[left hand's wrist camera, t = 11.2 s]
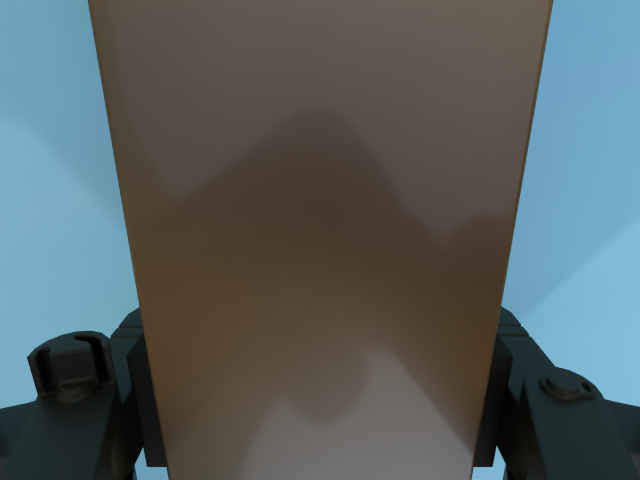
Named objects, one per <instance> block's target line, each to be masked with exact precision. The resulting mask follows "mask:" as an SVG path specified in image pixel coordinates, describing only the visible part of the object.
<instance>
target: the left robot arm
mask: <svg viewBox="0 0 640 480" xmlns="http://www.w3.org/2000/svg"><path fill="white" fill-rule="evenodd" d="M27 359H28V363H29V366H30V369H31V373H32V376H33V380H34V383H35V387H36V390H37V394H38V396H37V399H36V401H33V402H30V403H26V404H21V405H16V406H11V407H7V408H2V409H0V480H137V476H136V471H135V466H134V465H135V463H136V461H137V459H138V457H139V454H140V452H141V450H142V448H144V453H145V458H146V464H147V467H167V466H166V460H165V454H164V448H163V442H162V437H161V431H160V425H159V419H158V413H157V407H156V401H155V395H154V389H153V383H152V377H151V371H150V365H149V360H148V354H147V348H146V342H145V336H144V330H143V324H142V318H141V312H140V307H139V308H137V309H136V310H134V311H133V312H131V313H129V314H128V315H127V316H126V318H125V319H124V320H123V321H122V323H121V324H120V325H119V328H117V329H116V330H115V331H114V333H113V334H112V335H111V338H109V339H108V337H106V336H105V335H104V334H103V333H100V332H95V331H77V332H73V333H68V334H64V335H60V336H58V337H56V338H53V339H51V340H48V341H46V342H45V343H43V344H41V345H40V346H38V347H37V348H35V349H34V350H33V351H32V352H31V353H30V355H29V356H28V357H27ZM496 446H497V447H498V449H499V451H500V453H501V455H502V457H503V459H504V461H505V463H506V466H505V471H504V475H503V480H640V407H638V406H633V405H628V404H623V403H619V402H614V401H610V400H606V399H604V398H603V396H602V394H601V393H600V391H599V390H598V389H597V387H596V386H595V385H594V384H592V383H591V382H590V381H588V380H587V379H586V378H584V377H583V376H581V375H578V374H576V373H574V372H572V371H570V370H566V369H562V368H559V367H555V366H554V364H553V363H552V362H551V361H550V360H549V358H548V357H547V356H546V355H545V353H544V352H543V351H542V350H541V348H540V347H539V346H538V345H537V344H536V342H535V341H534V340H533V339H532V337H529V334H528V332H527V331H526V330H525V329H524V328H523V327H521V324H520V323H519V321H518V320H517V319H516V318H515V316H514V315H513V314H512V313H511V312H510V311H508V310H506V309H505V308H503V307H502V306H501V309H500V315H499V321H498V327H497V332H496V338H495V344H494V350H493V356H492V362H491V368H490V373H489V379H488V385H487V391H486V397H485V403H484V409H483V414H482V420H481V426H480V432H479V438H478V444H477V449H476V455H475V461H474V467H493V462H494V456H495V451H496Z"/></svg>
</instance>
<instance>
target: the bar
mask: <svg viewBox="0 0 640 480" xmlns="http://www.w3.org/2000/svg"><path fill="white" fill-rule="evenodd" d="M88 4H89V10H90V16H91V22H92V28H93V34H94V40H95V46H96V52H97V58H98V64H99V70H100V75H101V81H102V87H103V93H104V99H105V105H106V111H107V117H108V123H109V129H110V135H111V141H112V146H113V152H114V158H115V164H116V170H117V176H118V182H119V188H120V194H121V200H122V206H123V212H124V217H125V223H126V229H127V235H128V241H129V247H130V253H131V259H132V265H133V271H134V277H135V283H136V289H137V294H138V300H139V306H140V312H141V318H142V324H143V330H144V336H145V342H146V348H147V354H148V360H149V365H150V371H151V377H152V383H153V389H154V395H155V401H156V407H157V413H158V419H159V425H160V431H161V437H162V442H163V448H164V454H165V460H166V466H167V472H168V478H169V480H471V479H472V473H473V467H474V461H475V455H476V449H477V444H478V438H479V432H480V426H481V420H482V414H483V409H484V403H485V397H486V391H487V385H488V379H489V373H490V368H491V362H492V356H493V350H494V344H495V338H496V332H497V327H498V321H499V315H500V309H501V303H502V297H503V292H504V286H505V280H506V274H507V268H508V262H509V256H510V251H511V245H512V239H513V233H514V227H515V221H516V215H517V210H518V204H519V198H520V192H521V186H522V180H523V175H524V169H525V163H526V157H527V151H528V145H529V139H530V134H531V128H532V122H533V116H534V110H535V104H536V98H537V93H538V87H539V81H540V75H541V69H542V63H543V58H544V52H545V46H546V40H547V34H548V28H549V22H550V17H551V11H552V5H553V0H88Z"/></svg>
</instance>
